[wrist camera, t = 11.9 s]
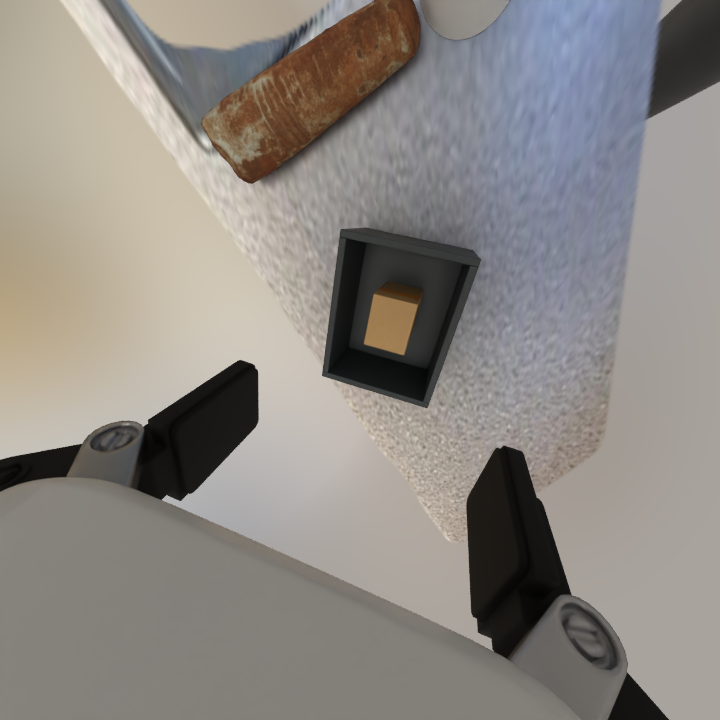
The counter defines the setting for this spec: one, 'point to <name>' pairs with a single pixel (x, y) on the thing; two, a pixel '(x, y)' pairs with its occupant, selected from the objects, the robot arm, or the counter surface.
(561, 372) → the counter surface
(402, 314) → the carton
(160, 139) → the counter surface
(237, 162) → the bread
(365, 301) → the bin
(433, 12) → the cylindrical container
